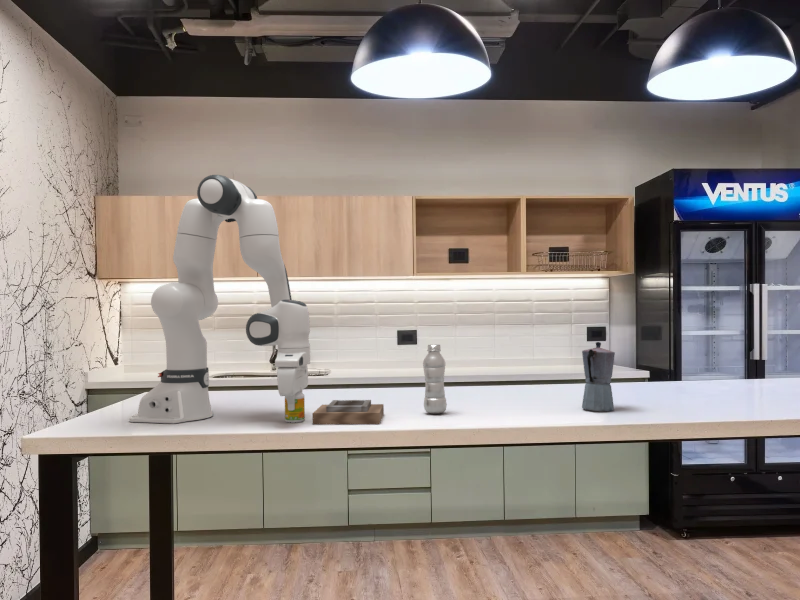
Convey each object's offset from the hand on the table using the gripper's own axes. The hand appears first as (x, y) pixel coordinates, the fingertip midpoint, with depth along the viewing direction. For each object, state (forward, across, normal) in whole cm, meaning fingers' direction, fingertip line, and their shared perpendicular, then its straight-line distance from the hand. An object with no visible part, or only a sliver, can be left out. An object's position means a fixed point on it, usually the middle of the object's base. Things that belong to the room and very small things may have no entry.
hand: (294, 407), depth 157 cm
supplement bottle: (+4, 0, 0) cm, 4 cm away
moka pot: (+4, -14, +87) cm, 88 cm away
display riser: (+4, -2, +15) cm, 16 cm away
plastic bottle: (+4, -10, +39) cm, 40 cm away
